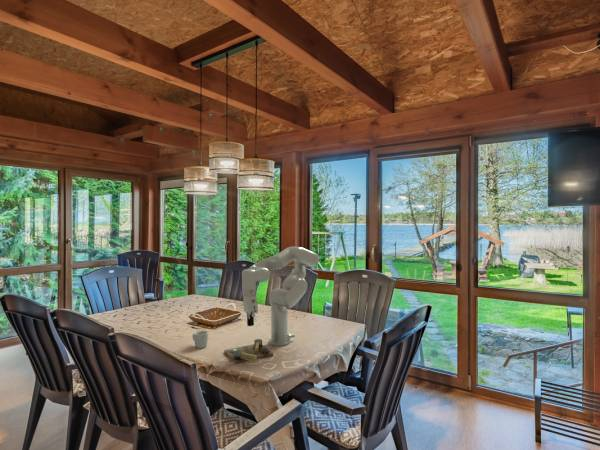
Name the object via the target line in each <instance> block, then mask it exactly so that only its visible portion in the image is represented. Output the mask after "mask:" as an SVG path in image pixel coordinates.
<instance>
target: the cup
mask: <svg viewBox="0 0 600 450" xmlns="http://www.w3.org/2000/svg"><path fill="white" fill-rule="evenodd" d="M208 339H209V331H208V330H197V331H195V332H194V333H192V340H193V341H194V346H195V348H197V349H204V348H206V347H207V346H208Z"/></svg>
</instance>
